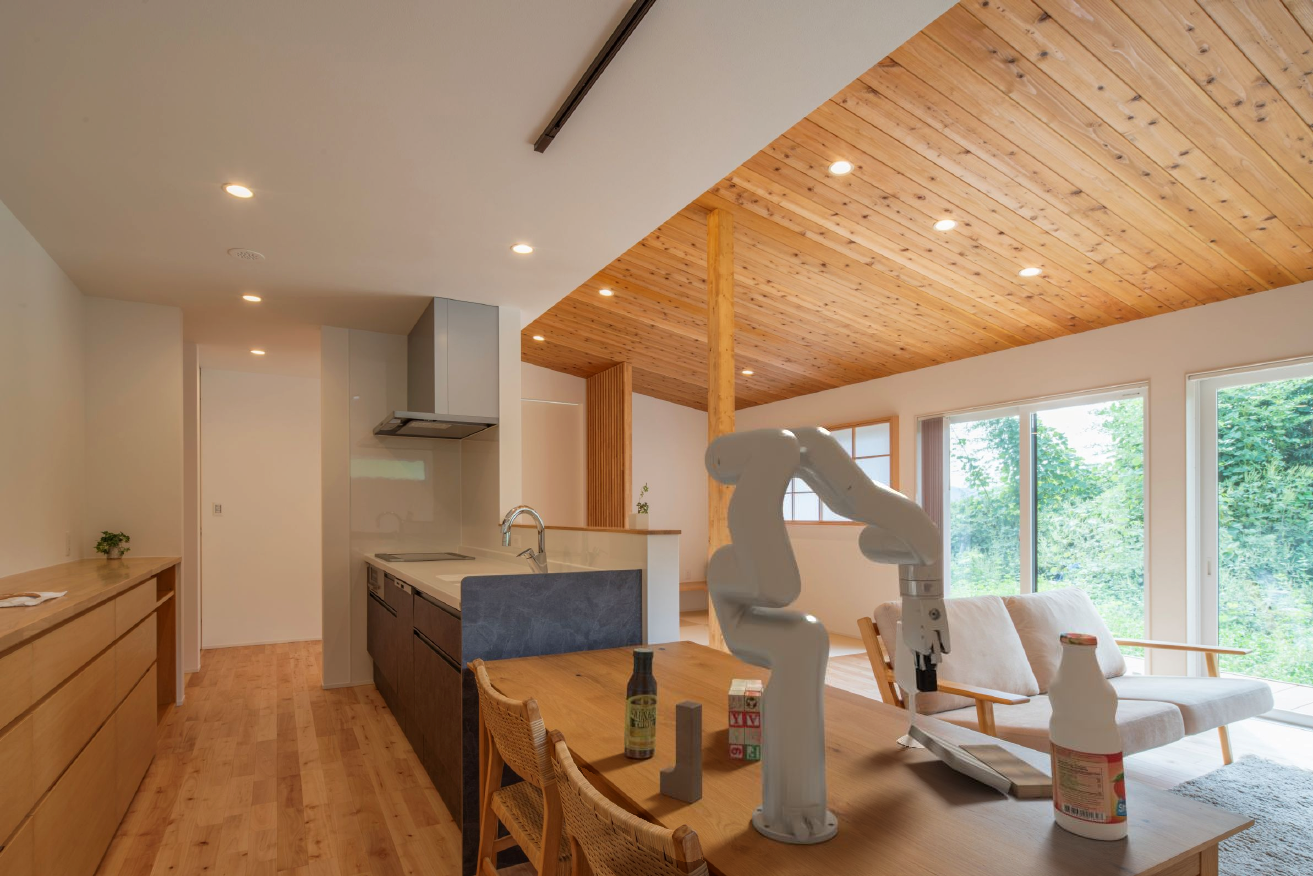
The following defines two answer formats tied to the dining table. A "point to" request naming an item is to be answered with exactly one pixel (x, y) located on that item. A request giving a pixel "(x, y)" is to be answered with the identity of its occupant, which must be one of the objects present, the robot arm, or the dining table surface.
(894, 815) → the dining table surface
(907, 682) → the champagne flute
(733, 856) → the dining table surface
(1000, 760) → the walnut floor strip
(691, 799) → the wooden block
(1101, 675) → the fruit juice
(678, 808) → the dining table surface
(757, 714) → the stack of blocks
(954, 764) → the grey plank
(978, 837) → the dining table surface
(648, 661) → the sauce bottle
